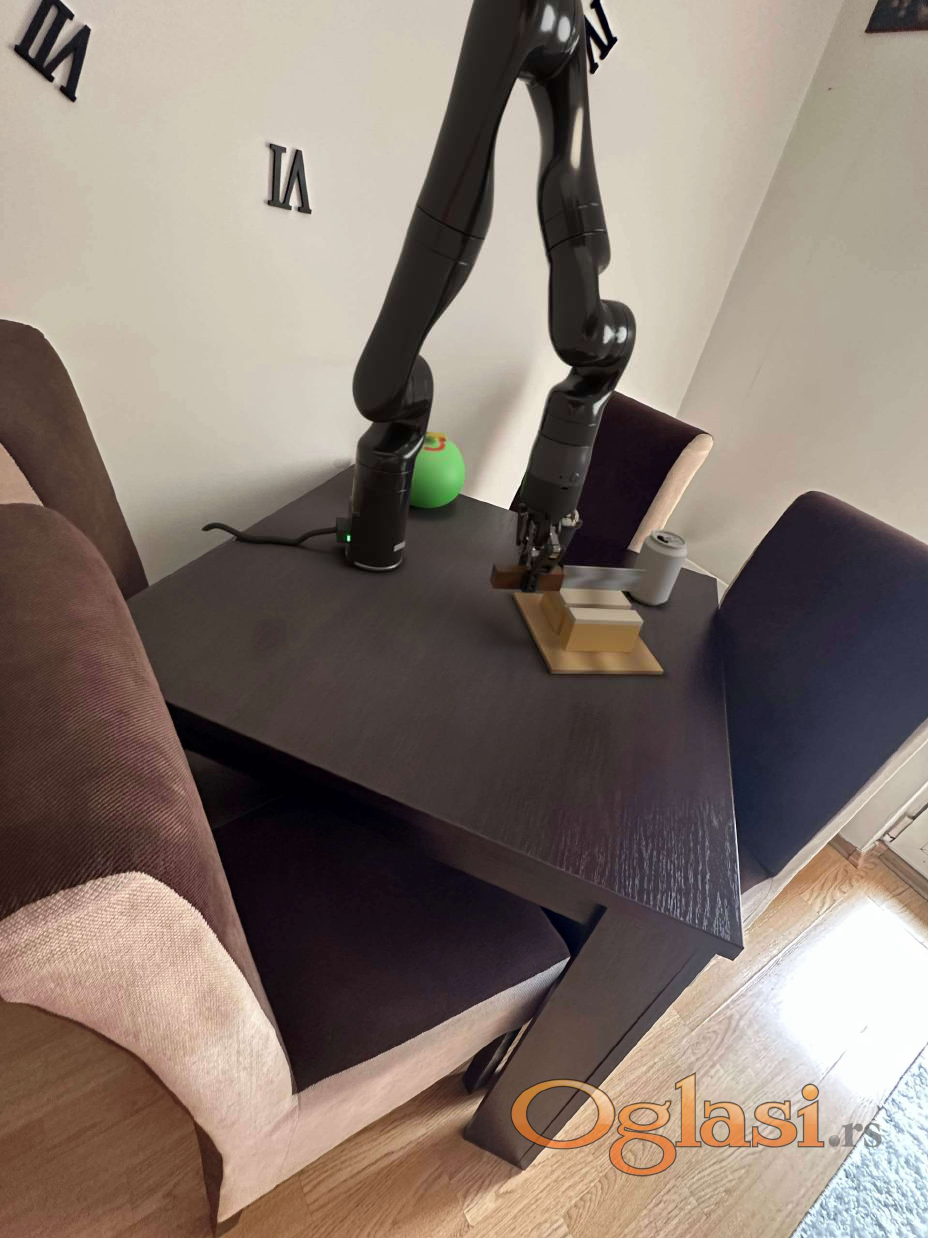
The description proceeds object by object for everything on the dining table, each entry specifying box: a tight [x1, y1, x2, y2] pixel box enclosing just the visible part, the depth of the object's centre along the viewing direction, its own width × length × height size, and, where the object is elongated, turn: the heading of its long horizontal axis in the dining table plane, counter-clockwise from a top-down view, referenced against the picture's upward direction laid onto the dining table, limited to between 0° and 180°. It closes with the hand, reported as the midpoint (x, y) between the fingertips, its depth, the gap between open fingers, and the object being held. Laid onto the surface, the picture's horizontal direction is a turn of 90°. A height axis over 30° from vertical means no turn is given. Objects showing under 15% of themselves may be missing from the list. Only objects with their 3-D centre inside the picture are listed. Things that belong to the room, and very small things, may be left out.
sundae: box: [555, 509, 583, 569], centre depth 114 cm, size 7×7×15 cm
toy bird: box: [409, 430, 466, 509], centre depth 128 cm, size 18×17×15 cm
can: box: [628, 528, 688, 606], centre depth 113 cm, size 8×8×12 cm
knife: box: [489, 562, 646, 592], centre depth 93 cm, size 23×2×4 cm, turn 103°
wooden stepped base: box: [512, 588, 664, 676], centre depth 100 cm, size 18×20×7 cm
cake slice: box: [558, 607, 644, 652], centre depth 97 cm, size 11×3×6 cm, turn 102°
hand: (524, 585), depth 92 cm, fingers closed on knife, 2 cm apart
